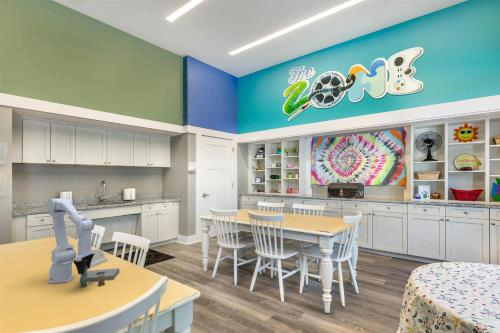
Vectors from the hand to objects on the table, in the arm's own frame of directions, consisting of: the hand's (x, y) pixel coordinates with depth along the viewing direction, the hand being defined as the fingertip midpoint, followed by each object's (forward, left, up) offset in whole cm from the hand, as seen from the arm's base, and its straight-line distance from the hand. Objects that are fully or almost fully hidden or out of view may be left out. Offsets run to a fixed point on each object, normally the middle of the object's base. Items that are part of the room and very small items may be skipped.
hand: (84, 271), depth 129 cm
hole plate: (+4, +12, -8) cm, 15 cm away
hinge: (-8, +36, -8) cm, 38 cm away
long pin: (0, 0, -8) cm, 8 cm away
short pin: (+8, 0, -8) cm, 11 cm away
